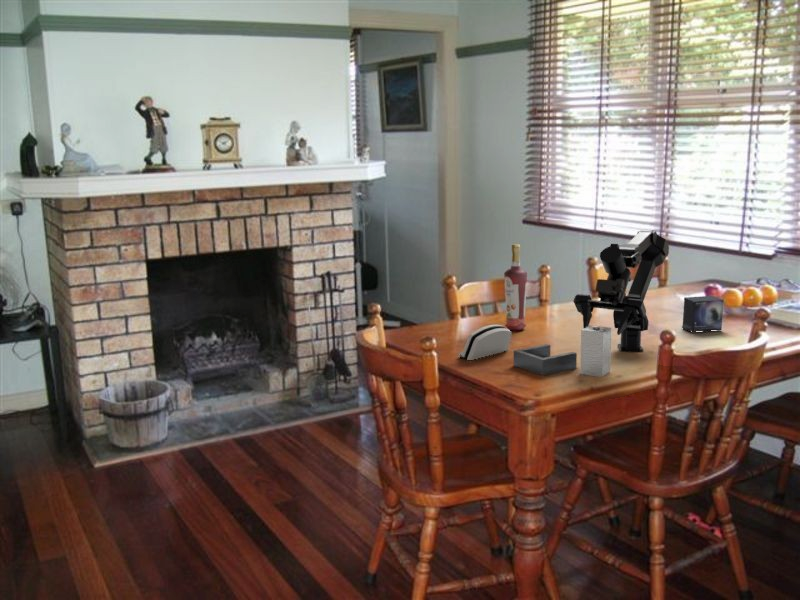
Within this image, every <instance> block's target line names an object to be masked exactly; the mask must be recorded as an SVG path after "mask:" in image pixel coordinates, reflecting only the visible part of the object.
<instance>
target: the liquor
mask: <svg viewBox="0 0 800 600" xmlns="http://www.w3.org/2000/svg"><path fill="white" fill-rule="evenodd" d="M520 252H521V244H518V243H514V244H513V243H512V244H511V263H510V264H511V265H510V268H509V269H507V270H506V271H505V272H504V275H503V276H504V296H505V319H506V320H505V321H506V323H505V324H504V327H506V329H509V330H513V331H512V332H519V331H520V330H521V331H523V330H524V329H525V328H526V326H527V325H526V323H525V322H526V301H527V299H526V297H527V281H528V279H527V278H528V272H527V271H526V270H524V269H523V268H521V260H520V259H521V258H520Z"/></svg>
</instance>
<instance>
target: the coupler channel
mask: <svg viewBox="0 0 800 600" xmlns="http://www.w3.org/2000/svg"><path fill="white" fill-rule="evenodd" d="M577 356H578V355H577V352H574V351H570V352H566V353H561V354H556V355H551V344H548V343H545V344H540V345H534V346H530V347H525V348H521V349H520V348H519V349H515V350H513V366H514V367H516V368H519V369H522V370H525V371H527V370H528V372H531V373H533V374H536V373H537V374H536V375H539V374H540V376H542V375H544V376H548V375H551V374H552V373H553V374H556V373H561V372H566V371H570V370H571V371H572V370H575V369H577ZM547 374H548V375H547Z"/></svg>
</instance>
